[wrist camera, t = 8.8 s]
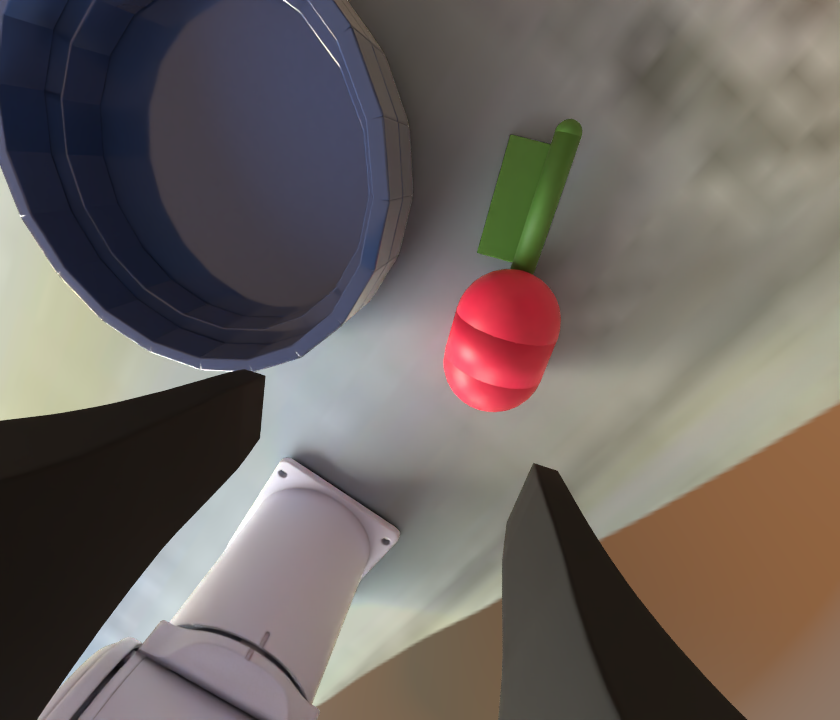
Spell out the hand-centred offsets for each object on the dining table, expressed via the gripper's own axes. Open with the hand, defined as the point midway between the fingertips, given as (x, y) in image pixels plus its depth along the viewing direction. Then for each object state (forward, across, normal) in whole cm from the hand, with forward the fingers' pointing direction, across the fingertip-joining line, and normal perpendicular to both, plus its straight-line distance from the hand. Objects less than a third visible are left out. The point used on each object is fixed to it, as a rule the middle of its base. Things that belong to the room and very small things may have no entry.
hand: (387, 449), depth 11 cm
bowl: (+9, +10, -4) cm, 14 cm away
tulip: (+9, -2, -4) cm, 10 cm away
